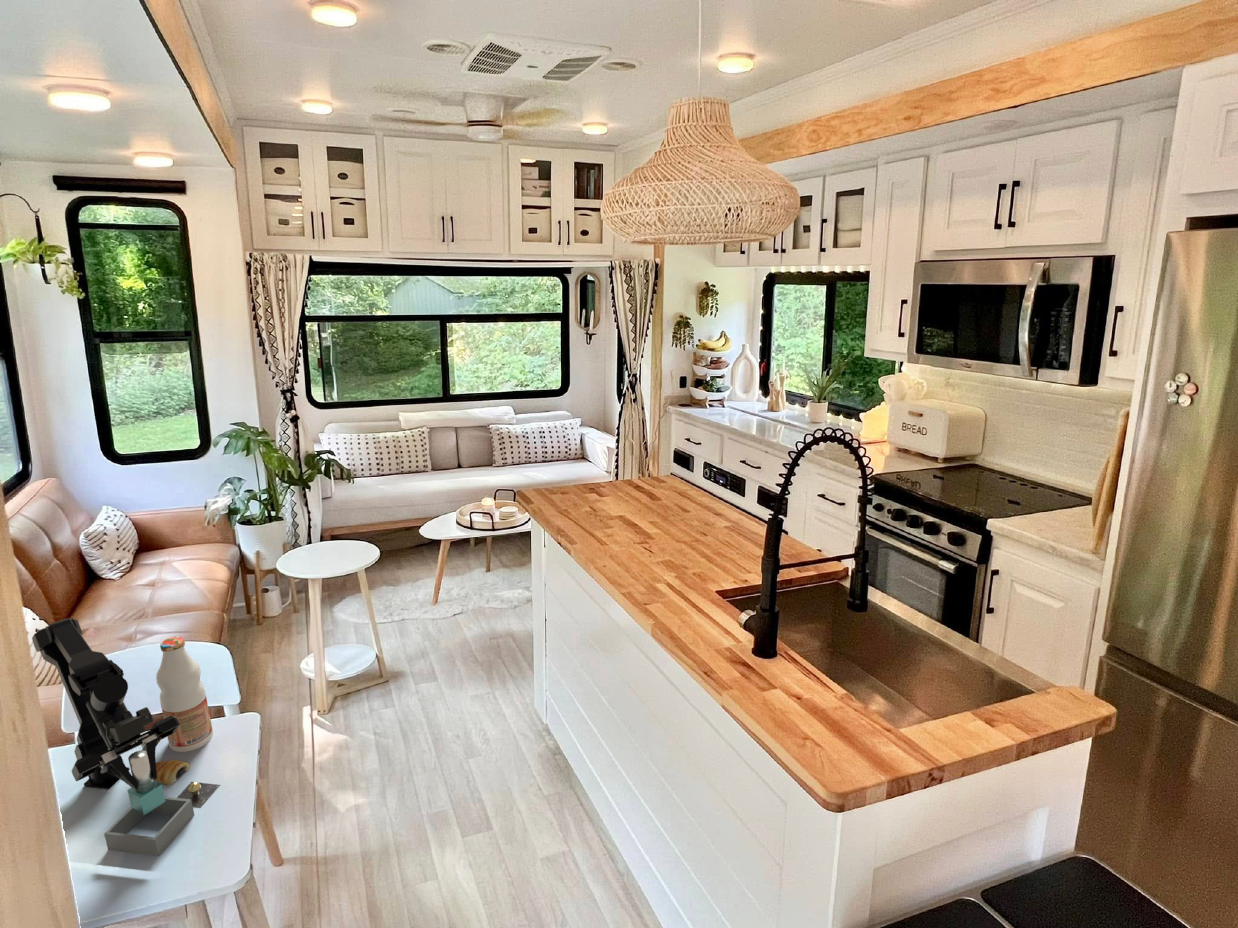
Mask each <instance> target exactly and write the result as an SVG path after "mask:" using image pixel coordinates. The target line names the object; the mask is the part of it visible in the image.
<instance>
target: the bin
mask: <svg viewBox="0 0 1238 928" xmlns="http://www.w3.org/2000/svg"><path fill="white" fill-rule="evenodd" d="M165 801H166V802H164V803H163V804H161V805H159V806H158V807H156V808H155V809H153V810H152V811H150V812H149V813H154V814H161V815H171V816H172V817H171V818H170V819H169V820H168V821H167V823H165V824H164V826H163V827H161V829H160V830H159V831H158V832H157V834H156V835H155V836H149V835H148V836H147V835H138V834H130V833H129V832H130V831H131V830H132V829H133V828H134V827H135V826H136V824H137V823H138V822H139V821H141V820H142V818H143V817H144V816H145V815H143V814H141V813H140V812H138V811H137V810H135V809H134V808H132V807H131V806H130V807H129V808H128V809H127V810H126V811H125V812H124V813H123V814H122V815H121V816H119V818H118V819H117V820H116V821H115V823H113V824H112V826H110V827H109V828H108V829H107V830H106V831H105V832H104V833H103V836H104V838H105V842H106V847H107V850H108V851H115V852H122V853H123V852H124V853H130V854H139V855H149V856H156V857H159V856H160V855H161V854H162V853H163V852H164V850H165V849H166V848H167V847H168V846H169V845H170V844H171V842H173V840H174V839H175V838H176V837H177V836H178V834H180V832H181V831H182V830H183V829H184V828H185V826H186V825H187V824H188V823H189V822H190V821H191V820H192V819H193V817H194V816H195V812H194V811H195V810H194V807H193V806H192V801H191V799H182V798H177V797H172V796H171V797H170V796H165Z"/></svg>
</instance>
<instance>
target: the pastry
mask: <svg viewBox="0 0 1238 928" xmlns="http://www.w3.org/2000/svg"><path fill="white" fill-rule="evenodd" d="M190 768H191V766H190V764H189V763H188V762H187V761H185V762H184V761H183V760H176V759H170V760H161V761H158V762H156V771H157V779H156V780H155V781H157V782H159V783H160V784H162V785H163V784H164V785H168V786H171V785H173V784H175V783H176V782H177V781H178V779H179V778H180V777H181V774H182V772H187V771H189V770H191V769H190Z"/></svg>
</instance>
